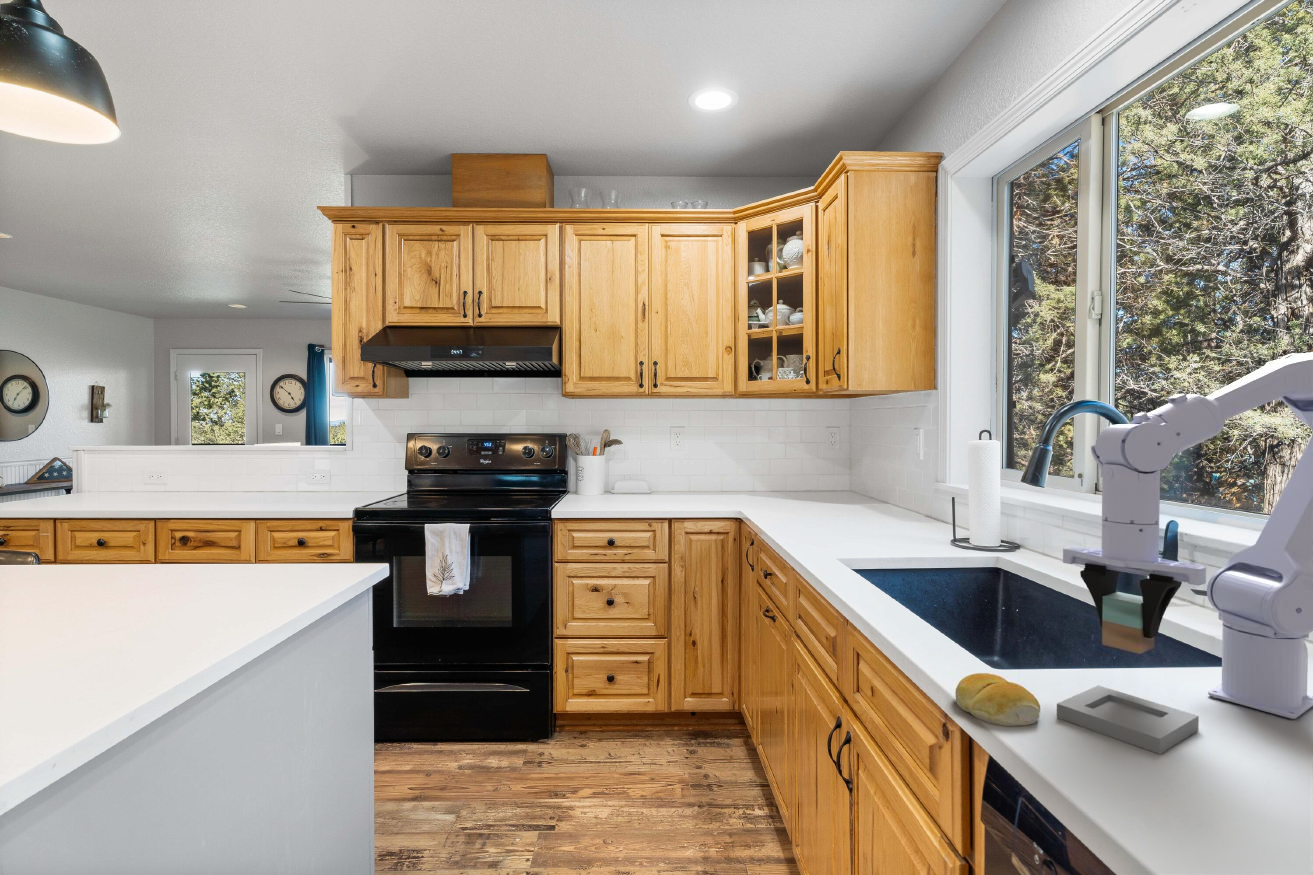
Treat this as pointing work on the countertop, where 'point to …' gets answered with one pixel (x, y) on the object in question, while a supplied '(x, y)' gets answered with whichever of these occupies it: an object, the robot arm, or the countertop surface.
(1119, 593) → the brick stack
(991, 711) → the bread roll
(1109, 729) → the base plate
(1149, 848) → the countertop surface
